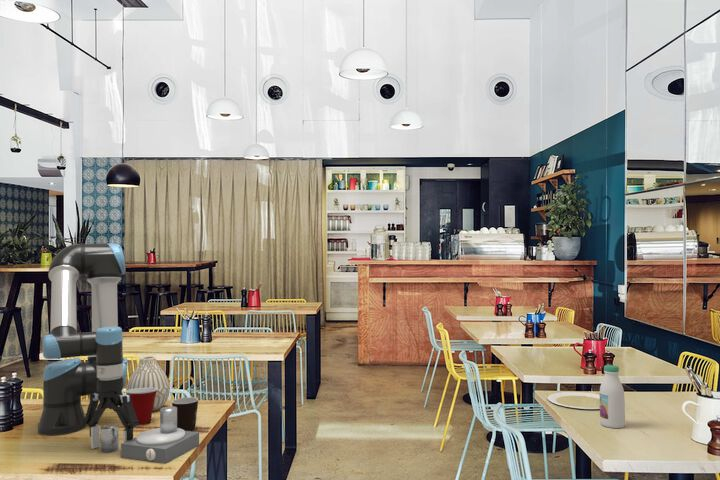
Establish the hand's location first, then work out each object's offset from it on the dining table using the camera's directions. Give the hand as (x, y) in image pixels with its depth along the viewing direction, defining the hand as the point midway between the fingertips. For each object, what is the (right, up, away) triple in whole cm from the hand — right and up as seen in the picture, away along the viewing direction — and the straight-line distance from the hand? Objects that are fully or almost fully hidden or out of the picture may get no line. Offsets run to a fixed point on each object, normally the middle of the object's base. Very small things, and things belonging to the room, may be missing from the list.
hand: (111, 449), depth 175 cm
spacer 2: (+17, +5, +2) cm, 18 cm away
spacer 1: (-1, 0, 0) cm, 1 cm away
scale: (+16, 0, -1) cm, 16 cm away
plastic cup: (-1, -1, +28) cm, 28 cm away
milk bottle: (+162, +1, +18) cm, 163 cm away
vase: (-6, -2, +46) cm, 46 cm away
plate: (+163, 0, +48) cm, 170 cm away
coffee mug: (+17, -1, +21) cm, 27 cm away
